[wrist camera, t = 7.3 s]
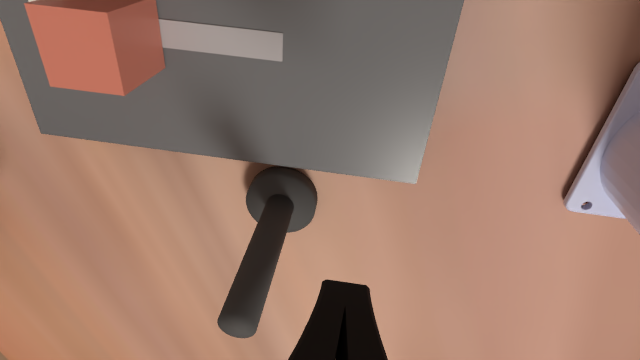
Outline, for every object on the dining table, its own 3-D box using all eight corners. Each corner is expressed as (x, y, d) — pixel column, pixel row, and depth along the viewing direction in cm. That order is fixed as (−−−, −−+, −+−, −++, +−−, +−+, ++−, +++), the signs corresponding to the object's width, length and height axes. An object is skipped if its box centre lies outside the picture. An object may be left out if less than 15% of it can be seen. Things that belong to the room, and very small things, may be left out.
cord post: (319, 171, 22) (287, 300, 14) (315, 225, 24) (285, 362, 17) (249, 162, 22) (182, 284, 15) (251, 217, 24) (194, 347, 17)
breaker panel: (483, -108, 14) (493, -111, 13) (413, 168, 21) (415, 184, 20) (-28, -154, 16) (-65, -161, 14) (59, 121, 22) (40, 133, 21)
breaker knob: (155, -4, 16) (107, 12, 13) (165, 67, 18) (124, 95, 15) (86, -12, 16) (23, 3, 14) (102, 60, 18) (50, 86, 15)
